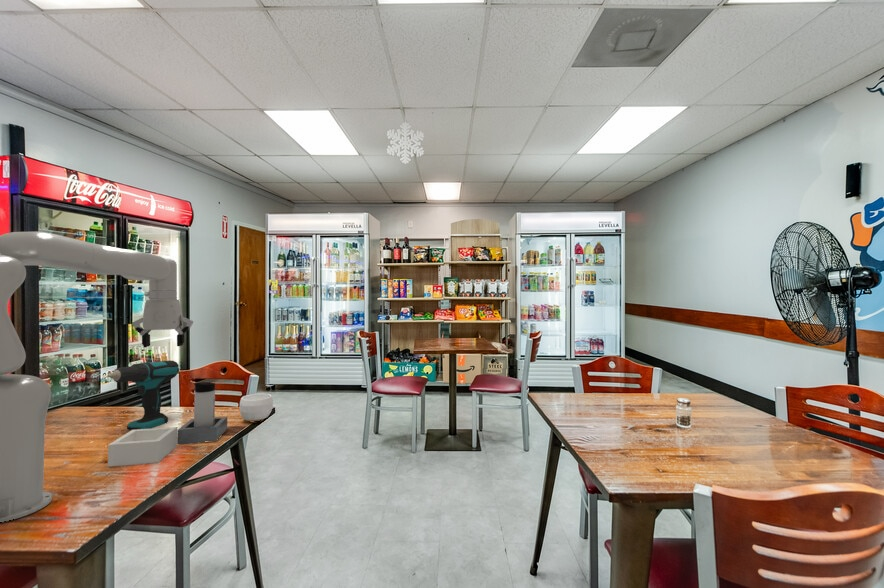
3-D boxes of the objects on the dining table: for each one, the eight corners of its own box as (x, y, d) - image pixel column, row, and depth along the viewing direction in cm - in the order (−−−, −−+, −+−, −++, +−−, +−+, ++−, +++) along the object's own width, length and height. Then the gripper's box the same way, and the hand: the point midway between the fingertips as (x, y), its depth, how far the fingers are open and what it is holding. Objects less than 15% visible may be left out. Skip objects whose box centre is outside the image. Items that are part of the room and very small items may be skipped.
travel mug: (188, 438, 134) (190, 382, 134) (207, 432, 139) (208, 378, 140) (199, 441, 131) (200, 384, 131) (217, 435, 137) (219, 380, 137)
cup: (277, 415, 160) (278, 393, 160) (263, 425, 148) (263, 401, 148) (249, 415, 160) (249, 392, 160) (232, 424, 148) (233, 400, 148)
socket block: (216, 441, 131) (216, 427, 131) (177, 444, 128) (177, 429, 128) (227, 429, 142) (227, 416, 142) (191, 432, 139) (191, 418, 139)
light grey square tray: (158, 462, 114) (158, 441, 114) (107, 466, 111) (108, 444, 111) (177, 446, 126) (177, 426, 127) (131, 449, 123) (132, 429, 123)
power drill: (116, 440, 130) (118, 369, 131) (96, 438, 132) (97, 367, 133) (182, 417, 156) (183, 357, 156) (164, 416, 158) (166, 356, 158)
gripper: (126, 296, 120) (127, 349, 120) (188, 296, 125) (188, 347, 125) (138, 295, 127) (138, 345, 128) (196, 295, 132) (196, 343, 132)
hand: (163, 346), depth 126 cm, fingers open, 9 cm apart
